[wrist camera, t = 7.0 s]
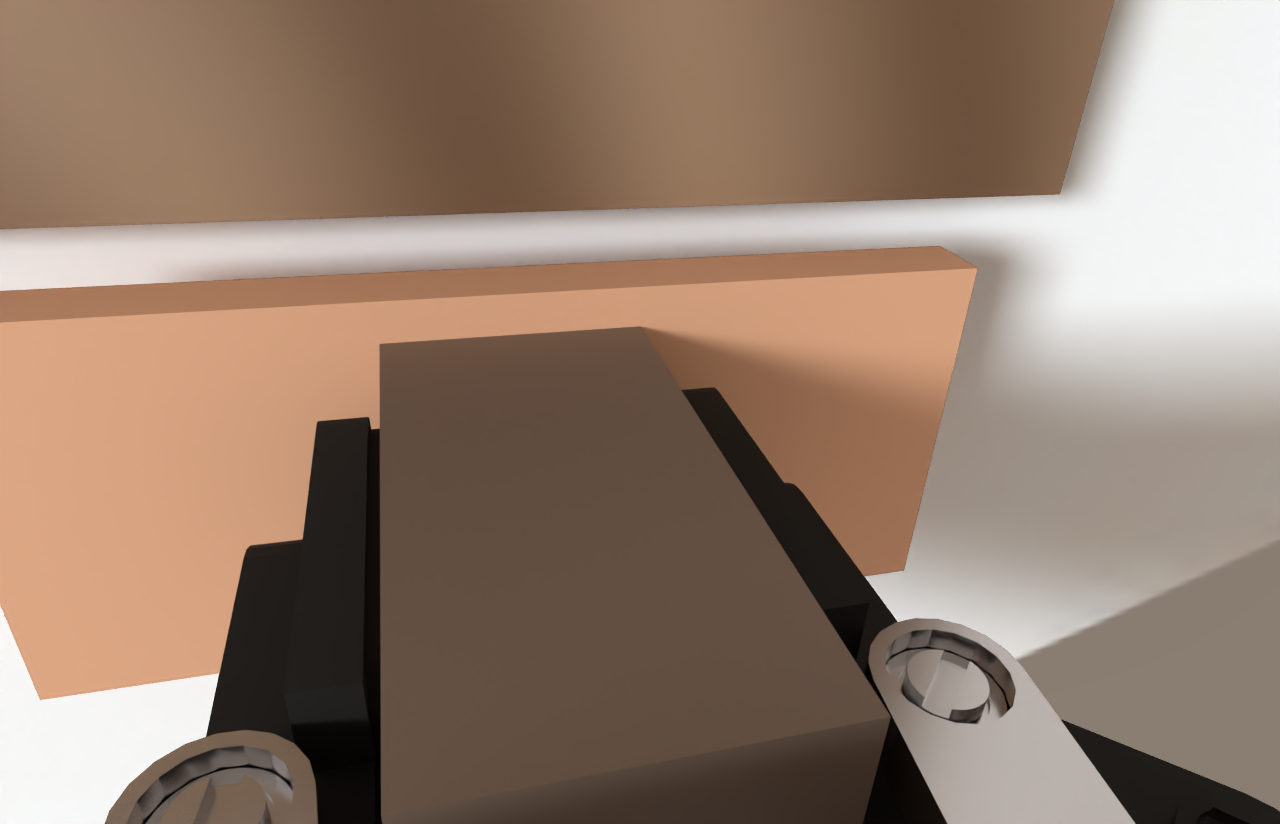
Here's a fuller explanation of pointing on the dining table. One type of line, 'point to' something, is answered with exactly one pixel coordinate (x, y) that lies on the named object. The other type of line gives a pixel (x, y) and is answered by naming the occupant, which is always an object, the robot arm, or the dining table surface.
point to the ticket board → (528, 105)
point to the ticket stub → (499, 509)
